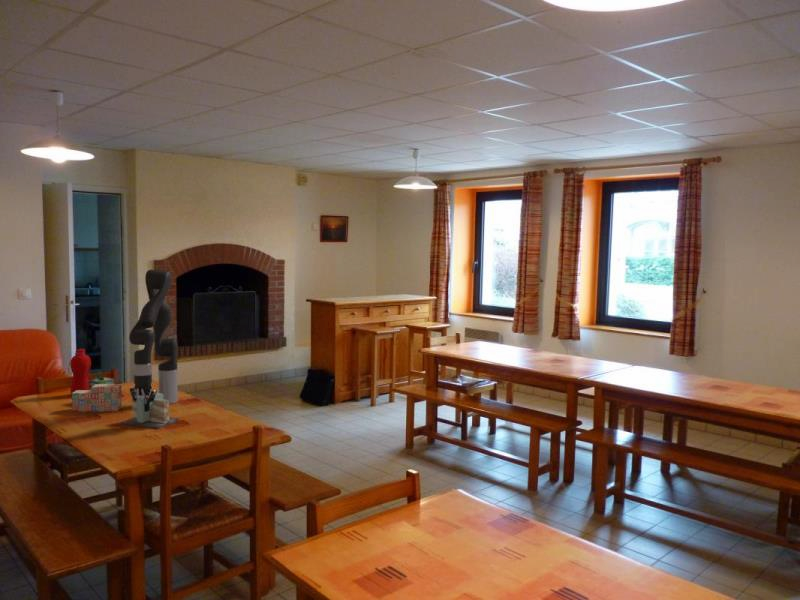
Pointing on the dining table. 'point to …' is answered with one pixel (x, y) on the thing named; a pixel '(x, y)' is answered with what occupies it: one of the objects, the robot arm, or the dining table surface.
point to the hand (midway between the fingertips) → (143, 410)
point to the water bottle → (80, 371)
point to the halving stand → (153, 415)
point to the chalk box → (100, 381)
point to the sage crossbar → (141, 414)
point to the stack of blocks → (98, 398)
